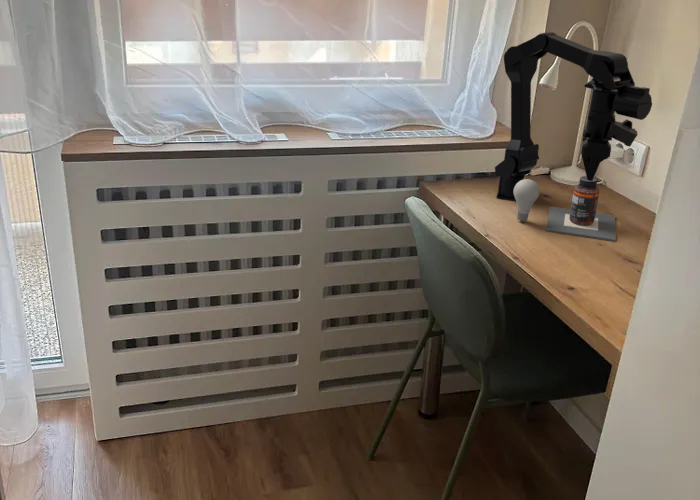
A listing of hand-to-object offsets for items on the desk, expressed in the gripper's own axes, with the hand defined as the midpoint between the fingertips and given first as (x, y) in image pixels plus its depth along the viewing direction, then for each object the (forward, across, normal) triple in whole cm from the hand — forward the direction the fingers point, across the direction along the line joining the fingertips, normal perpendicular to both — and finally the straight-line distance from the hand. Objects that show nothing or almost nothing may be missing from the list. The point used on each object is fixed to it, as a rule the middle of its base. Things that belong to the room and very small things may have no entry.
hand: (590, 174), depth 166 cm
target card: (+13, 0, 0) cm, 13 cm away
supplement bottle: (+12, 0, 0) cm, 12 cm away
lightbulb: (+13, -4, +14) cm, 20 cm away
